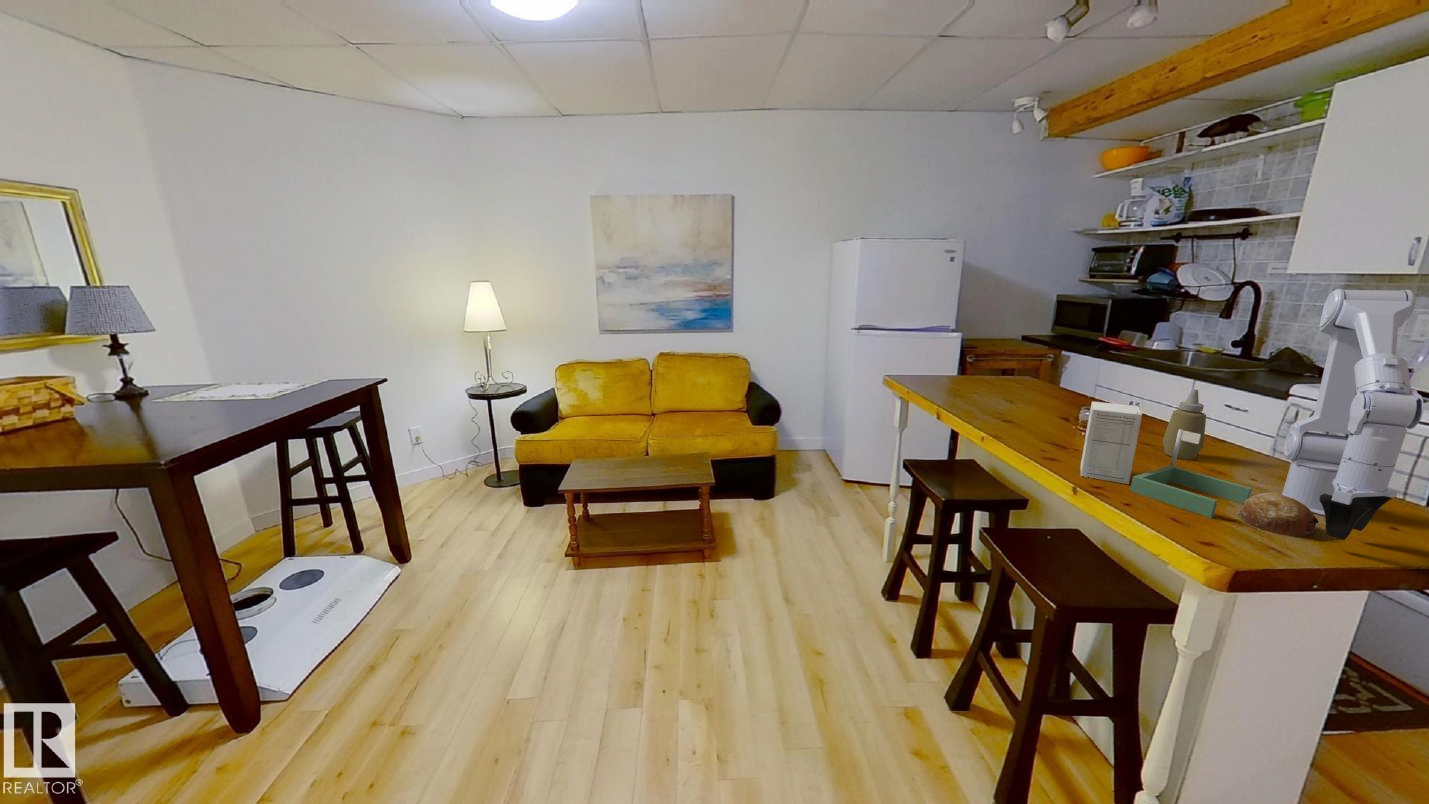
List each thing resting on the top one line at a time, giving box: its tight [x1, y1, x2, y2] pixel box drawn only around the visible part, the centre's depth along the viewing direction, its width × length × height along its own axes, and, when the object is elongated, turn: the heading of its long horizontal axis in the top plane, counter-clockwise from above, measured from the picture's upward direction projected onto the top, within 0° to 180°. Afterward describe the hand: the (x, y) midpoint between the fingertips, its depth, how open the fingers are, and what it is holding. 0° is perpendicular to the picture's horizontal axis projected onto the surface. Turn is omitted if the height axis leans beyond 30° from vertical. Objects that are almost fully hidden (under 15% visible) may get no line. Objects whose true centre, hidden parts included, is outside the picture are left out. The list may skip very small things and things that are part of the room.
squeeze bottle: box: [1162, 388, 1207, 460], centre depth 134 cm, size 8×8×18 cm
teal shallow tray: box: [1129, 429, 1253, 519], centre depth 110 cm, size 15×14×12 cm
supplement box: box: [1079, 401, 1143, 485], centre depth 122 cm, size 10×9×17 cm
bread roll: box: [1236, 492, 1320, 537], centre depth 100 cm, size 10×10×8 cm
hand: (1344, 532), depth 92 cm, fingers open, 7 cm apart
